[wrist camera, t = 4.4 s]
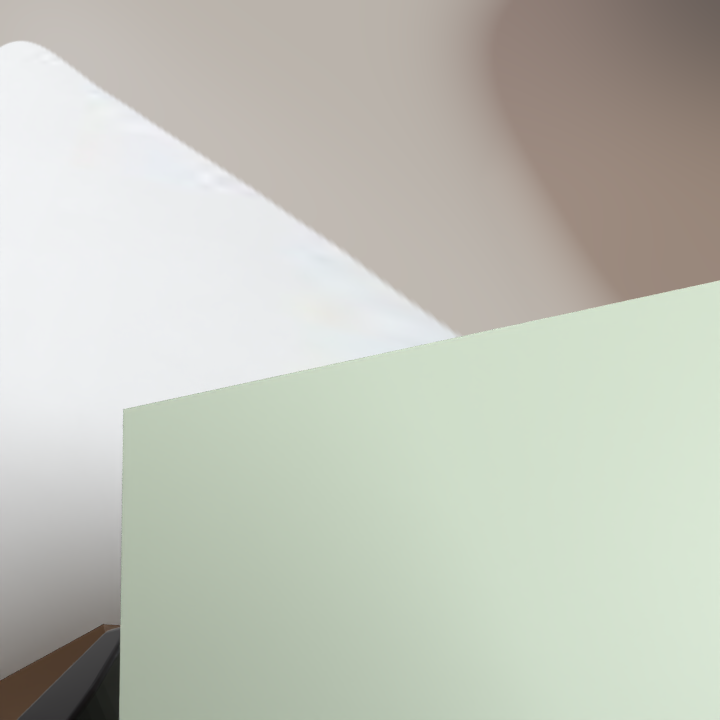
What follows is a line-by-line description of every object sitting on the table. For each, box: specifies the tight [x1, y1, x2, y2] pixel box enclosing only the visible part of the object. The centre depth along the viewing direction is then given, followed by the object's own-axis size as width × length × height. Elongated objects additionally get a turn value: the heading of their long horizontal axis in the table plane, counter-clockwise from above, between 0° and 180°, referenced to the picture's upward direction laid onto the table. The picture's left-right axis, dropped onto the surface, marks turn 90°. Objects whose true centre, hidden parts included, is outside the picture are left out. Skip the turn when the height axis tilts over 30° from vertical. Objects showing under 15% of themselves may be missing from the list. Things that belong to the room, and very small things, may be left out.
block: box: [119, 281, 720, 720], centre depth 8 cm, size 4×4×13 cm
